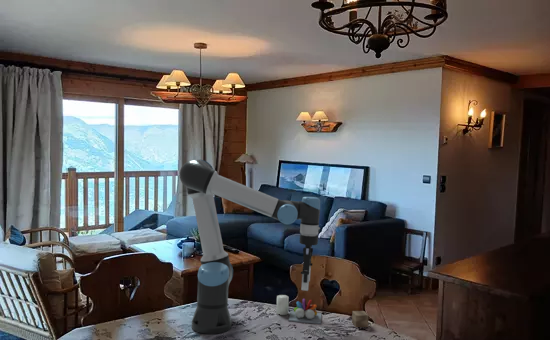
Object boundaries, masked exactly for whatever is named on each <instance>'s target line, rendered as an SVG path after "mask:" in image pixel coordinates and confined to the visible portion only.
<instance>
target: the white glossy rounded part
mask: <svg viewBox="0 0 550 340" xmlns="http://www.w3.org/2000/svg"><path fill="white" fill-rule="evenodd" d="M289 299H290V298H289V296H288V295H286V294H279V295H276V315H278V314H280V315H279V316H286V315H288V314H289Z"/></svg>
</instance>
